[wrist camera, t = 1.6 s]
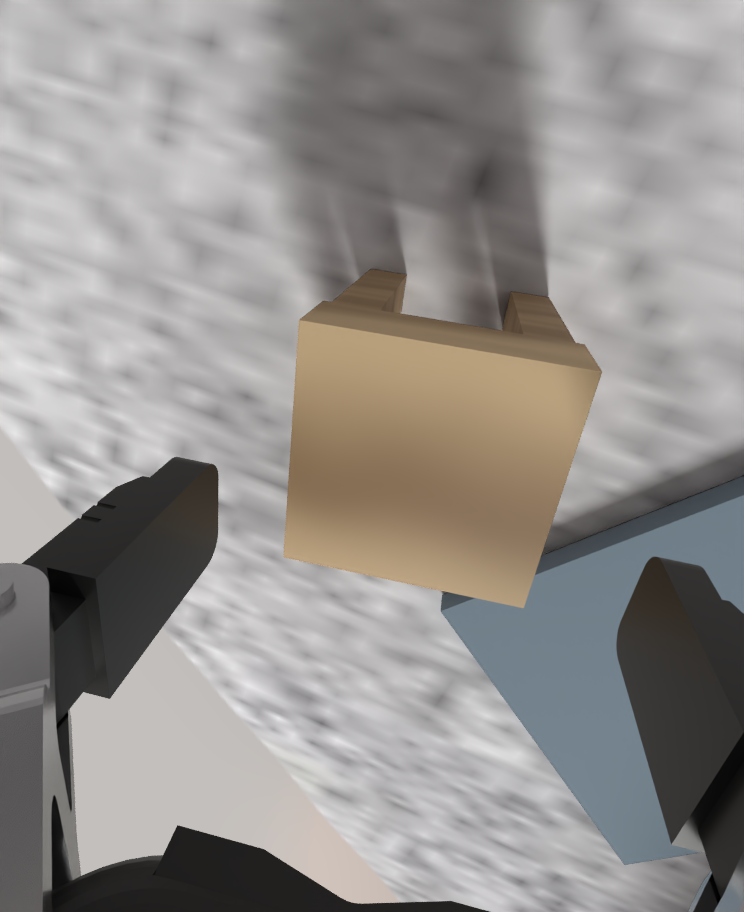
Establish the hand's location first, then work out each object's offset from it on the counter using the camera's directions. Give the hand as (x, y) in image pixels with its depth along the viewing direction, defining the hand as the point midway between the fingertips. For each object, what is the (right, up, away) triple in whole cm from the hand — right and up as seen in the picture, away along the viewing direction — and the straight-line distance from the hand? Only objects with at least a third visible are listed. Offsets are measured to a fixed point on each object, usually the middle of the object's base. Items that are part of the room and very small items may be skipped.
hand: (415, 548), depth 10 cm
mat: (+13, -8, +13) cm, 20 cm away
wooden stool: (+2, +5, +9) cm, 10 cm away
